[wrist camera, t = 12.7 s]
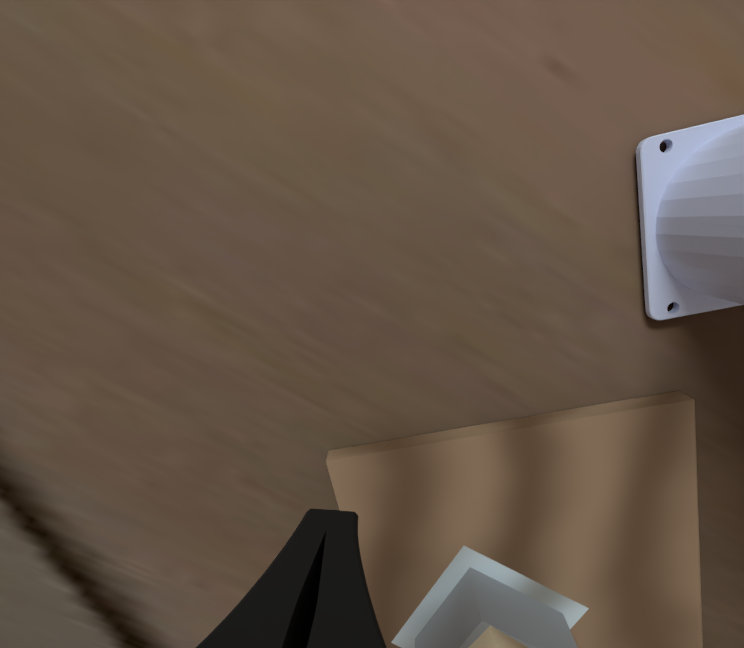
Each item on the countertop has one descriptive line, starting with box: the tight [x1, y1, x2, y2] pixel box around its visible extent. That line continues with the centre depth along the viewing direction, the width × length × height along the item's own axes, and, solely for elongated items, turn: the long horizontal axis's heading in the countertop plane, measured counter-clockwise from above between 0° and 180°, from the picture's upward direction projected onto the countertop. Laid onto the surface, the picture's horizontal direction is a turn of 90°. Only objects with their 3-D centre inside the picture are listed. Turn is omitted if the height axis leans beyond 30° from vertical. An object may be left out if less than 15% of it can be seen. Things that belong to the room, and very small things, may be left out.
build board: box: [326, 391, 703, 648], centre depth 22 cm, size 18×18×1 cm
